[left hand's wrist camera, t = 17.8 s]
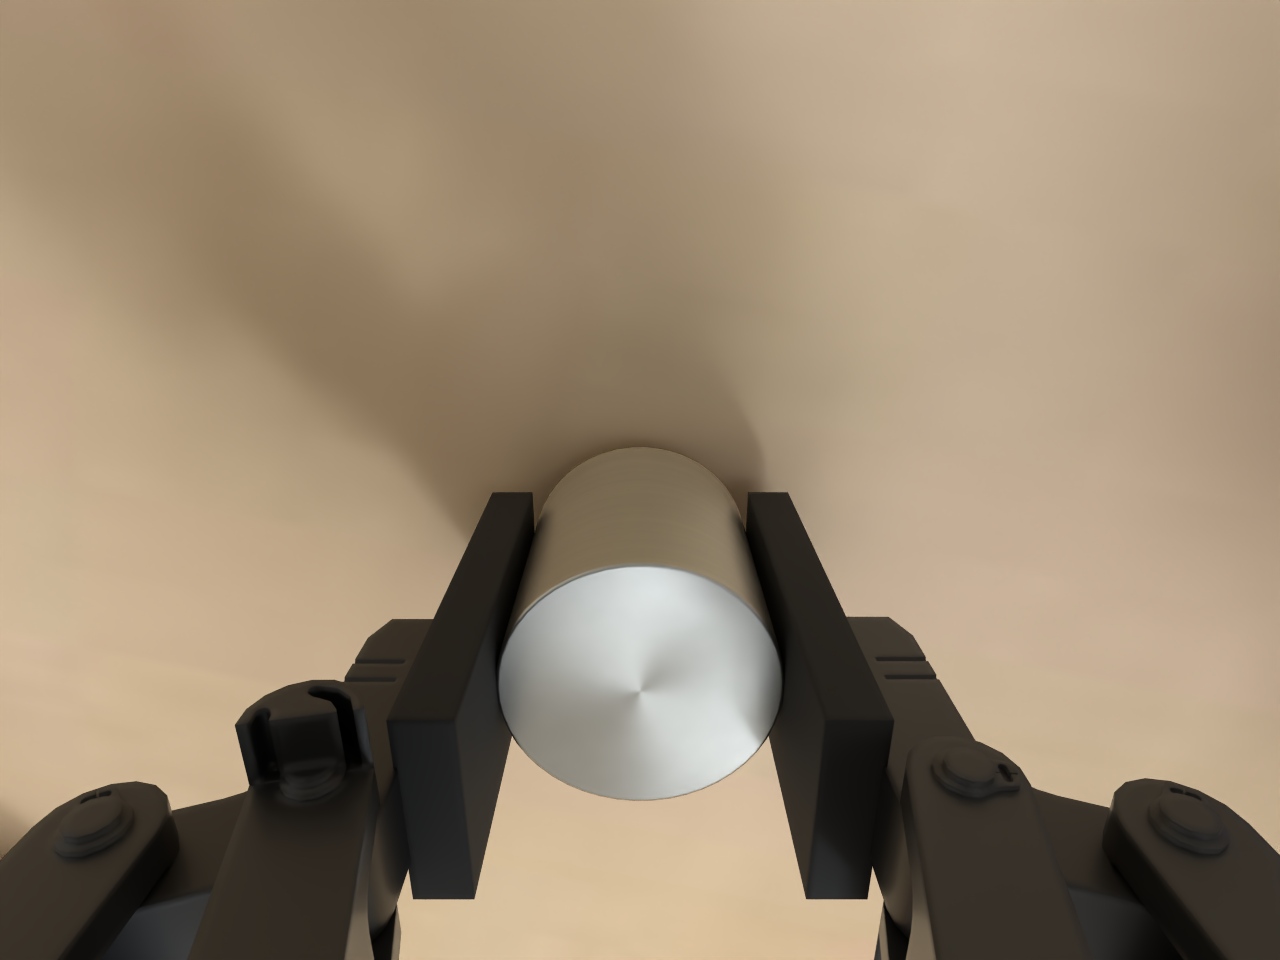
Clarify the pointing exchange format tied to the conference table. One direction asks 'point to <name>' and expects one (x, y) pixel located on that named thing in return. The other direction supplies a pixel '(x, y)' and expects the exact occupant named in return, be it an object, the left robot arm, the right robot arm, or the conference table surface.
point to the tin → (640, 632)
